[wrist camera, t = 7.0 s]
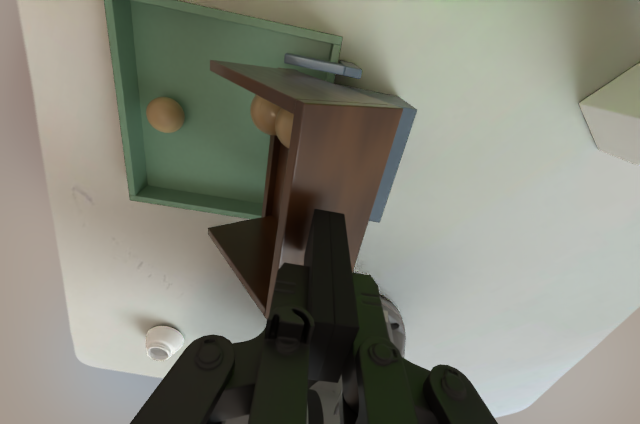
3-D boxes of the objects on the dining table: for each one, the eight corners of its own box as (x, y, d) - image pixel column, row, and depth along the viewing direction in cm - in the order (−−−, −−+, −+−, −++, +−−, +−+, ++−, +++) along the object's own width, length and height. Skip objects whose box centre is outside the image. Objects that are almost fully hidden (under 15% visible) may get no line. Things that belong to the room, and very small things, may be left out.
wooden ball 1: (187, 129, 29) (181, 139, 26) (153, 125, 28) (142, 134, 26) (187, 96, 27) (180, 103, 25) (150, 91, 27) (139, 97, 24)
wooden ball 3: (288, 160, 17) (263, 142, 19) (329, 158, 19) (303, 141, 21) (295, 105, 16) (268, 91, 17) (340, 108, 17) (311, 95, 19)
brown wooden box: (351, 287, 21) (269, 324, 17) (274, 213, 27) (202, 227, 24) (409, 108, 15) (304, 102, 11) (294, 68, 22) (203, 56, 18)
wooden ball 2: (267, 143, 19) (239, 128, 20) (302, 139, 21) (274, 126, 23) (273, 93, 17) (242, 81, 19) (309, 94, 20) (279, 83, 21)
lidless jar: (171, 351, 45) (192, 336, 44) (162, 370, 43) (184, 355, 41) (141, 334, 43) (162, 318, 42) (130, 353, 41) (152, 336, 39)
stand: (365, 209, 34) (375, 244, 28) (273, 194, 33) (264, 227, 27) (405, 74, 27) (429, 83, 21) (292, 50, 26) (284, 53, 20)
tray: (306, 213, 34) (305, 227, 31) (144, 187, 32) (129, 200, 30) (340, 37, 25) (342, 36, 23) (125, -11, 24) (101, -17, 21)
